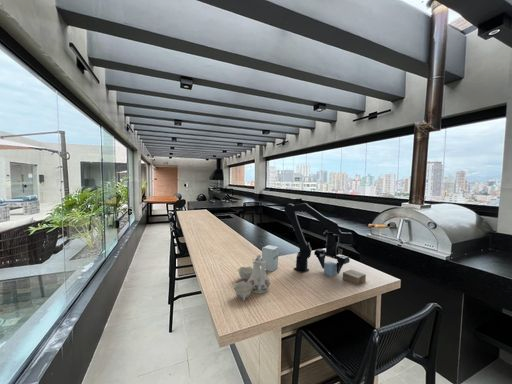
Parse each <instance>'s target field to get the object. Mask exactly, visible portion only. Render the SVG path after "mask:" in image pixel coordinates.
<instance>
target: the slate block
mask: <svg viewBox="0 0 512 384" xmlns="http://www.w3.org/2000/svg"><path fill="white" fill-rule="evenodd" d="M323 274H325V275H327V276H330V277H334V276H337V275H338V274H337V262H336V263H335V262H333V261H330V260H329V261H326V262H324V269H323Z"/></svg>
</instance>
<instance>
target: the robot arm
mask: <svg viewBox="0 0 512 384" xmlns="http://www.w3.org/2000/svg"><path fill="white" fill-rule="evenodd" d="M283 211H284V213H285V214H286V216H287V218H288V219H289V221H290V223H291V225H292V228H293V232H294V235H295V236H296V240H297V242H298V247H299V248H298V249H299V252H297V255H296V259H295V267H293V270H295V271H297V272H300V273H302V274H303V273H306V272H308V271H310V269H309V268H308V260H309V259H310V258H311V255H312V247H311V244H310V241H309V242H307V241H306V239H305V235H304V234H303V231H302V228H301V226H300V223H299V222H300V221H299V220H298V216H297V212H300V211H304V212H305V213H307V214H308V215H310V216H311V217H313V218H314V219H315V220H317V221H318V222H320V223H321V224H322V225H323V226H324V227H325V228H326V230H325V231H324V232H323V236H326V243H325V244H324V247H325V249H322V248H317V249H315V250H314V253H313V254H314V256H315V257H316V258H317V260H318V262H319V264H320V266H321V268H322V269H323V270H324V263H326V262H325V258H326V257H328V258H331V259H334V260H336V261H337V262H336V264H337V275H339V274H340V273H341V270H342V268H343V266H344V265H346V264H349V263H350V258H349V256H346V255H344V254H343V249H341V248H339V245H338V243H339V244H340V245H341V246H342V245H344V246H353V234H352V232H342V231H341V229H339V224H338V222H337V221H336V220H334V219H331V218H329V217H327V216H325V215H323V214H322V213H320V212H319V211H317V210H316V209H315V208H313V207H312V206H310V205H309V204H308V203H306V202H303V203H297V204H293V203H287V204H286V205H285V206H284V210H283Z"/></svg>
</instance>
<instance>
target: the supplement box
mask: <svg viewBox="0 0 512 384" xmlns="http://www.w3.org/2000/svg"><path fill="white" fill-rule="evenodd" d="M261 257H262V258H263V259H265V260H266V263H265V269H266V270H265V271H267V270H269V271H268V272H271V271H273V272H274V271H276V268H277V269H278V268H279V267H278V266H279V246H275V245H270V244H267V245H266V246H263V247H262V248H261Z"/></svg>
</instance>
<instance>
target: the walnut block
mask: <svg viewBox="0 0 512 384" xmlns="http://www.w3.org/2000/svg"><path fill="white" fill-rule="evenodd" d="M366 277H367V276H366V273H362V272H360V271H357V270H355V269H352V268H351V269H349V270H345V271H343V272H342V280H344V281H346V282H349V283H350V284H354V285H355V286H359V285H361V284H363V283H365V282H366Z"/></svg>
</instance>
